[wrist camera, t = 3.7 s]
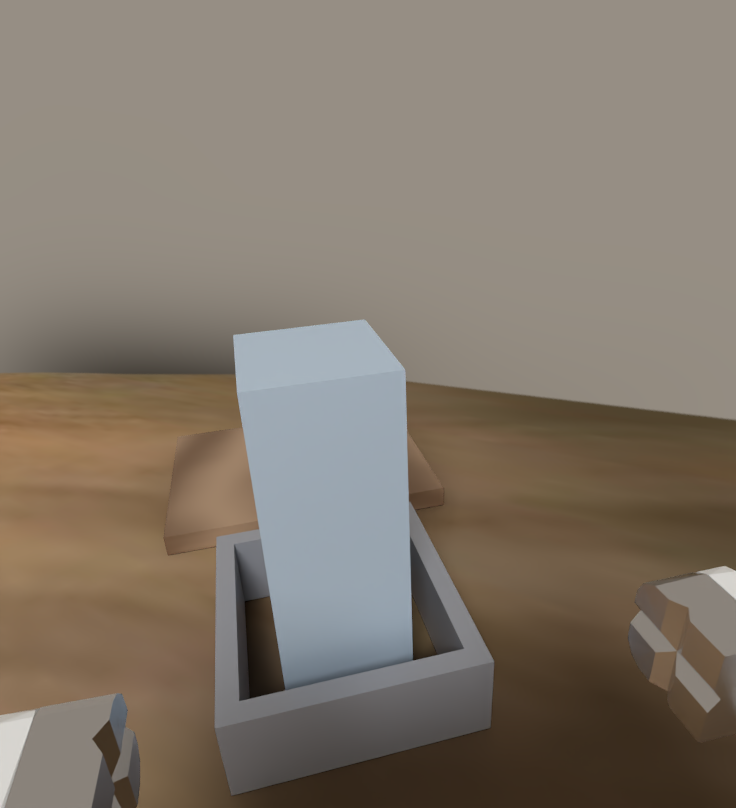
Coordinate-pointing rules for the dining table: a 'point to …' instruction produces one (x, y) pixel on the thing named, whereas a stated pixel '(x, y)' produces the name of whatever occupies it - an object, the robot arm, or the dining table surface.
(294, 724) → the gray bin
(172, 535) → the walnut board
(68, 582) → the dining table surface
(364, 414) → the slate box
